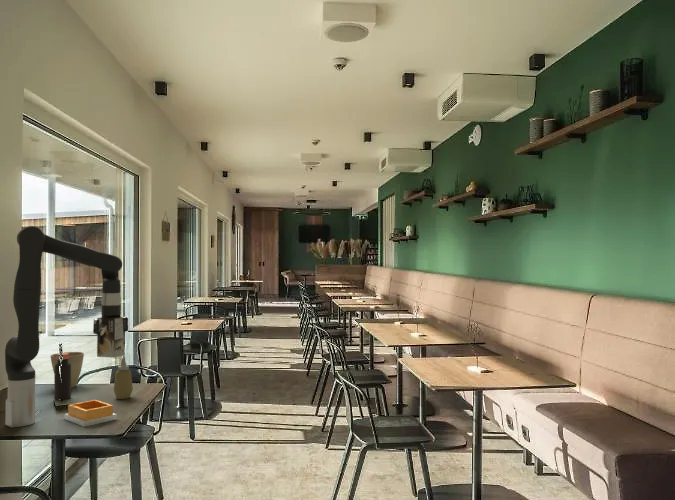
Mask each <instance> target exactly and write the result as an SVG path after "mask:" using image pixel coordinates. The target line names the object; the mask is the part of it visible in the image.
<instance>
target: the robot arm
mask: <svg viewBox="0 0 675 500" xmlns="http://www.w3.org/2000/svg"><path fill="white" fill-rule="evenodd" d="M16 241H17V244H18V246H19V261H18V268H17V272H16V275H15V278H14V284H13V285H14V286H13V294H12V295H13V297H12V298H13V299H12V302H13V307H14V311H15V314H16V318H17V322H18V329H17V335H14V336H12V337H11V338H10V339H8V341H7V343H5V344H6V345H5V351H4V359H5V361H4V362H5V364H4V365H5V371H6V372H5V373H6V374H7V398H6V399H5V422H4V423H5V426H7V427H9V428H19V427H25V426H26V427H27V426H31V425H33V424H35V423H36V369H35V368H34V367H33V365H32V363H31V361H33V360H34V359H35V358H37V356H38V354H39V351H40V331H39V330H40V328H39V326H40V325H39V323H40V311H41V310H40V306H41V298H42V297H41V296H42V258H43V257H42V256H43V253H45V254H51V255H54V256H57V257H60V258H63V259H65V260H69V261H72V262H74V263H78V264H81V265H84V266H87V267H95V268H98V269H99V270H101V271H100V272H101V277H102V288H101V289H102V290H101V292H102V294H101V301H100V302H101V303H100V304H101V310H100V311H101V313H100V314H101V317H102V318H101V317H100V318H101V319H97V318H94V319H93V328H92V329H93V330H92V333H93V334H94V335H96V336H97V335H98V343H99V344H100V345H103V334H104V332H105V331H106V330H107V328H106V327H107V325H106V326H105V327H104V328H100V330H99V325H100V323H103V324H104V325H105V324H106V318H113V317H122V315H121V314H122V296H121V294H122V293H121V281H120V279H119V272H120V271H121V269H122V267H123V261H122V259H121V258H120V257H119V256H118V255H113V254H110V253H106V252H101V251H99V250H96V249H93V248H90V247H87V246H85V245H81V244H77V243H73V242H70V241H65V240H61V239H58V238H55V237H52V236H50V235H48V234H46V233H44V231H43V230H42V229H41V228H40V227H39V226H35V225H29V226H25V227H24V228H22V229H20V230H19V232H18V233H17V236H16ZM123 317H124V333H126V332H129V318H128V317H126V316H123Z"/></svg>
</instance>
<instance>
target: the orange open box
mask: <svg viewBox="0 0 675 500" xmlns="http://www.w3.org/2000/svg"><path fill="white" fill-rule="evenodd" d="M67 411H68V412H67V413H64V418H63V419H64V420H66V421H69V422H70V423H73V424H76V425H79V426H81V427H83V428H85V427H89V426H93V425H98V424H102V423H106V422H111V421H115V420H118V419H117V418H118V416H117V413H114V405H113V404H110V403H107V402H104V401H100V400H98V399H92V400H87V401H82V402H77V403H76V402H75V403H72V404H71V403H70V404H68V406H67Z"/></svg>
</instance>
